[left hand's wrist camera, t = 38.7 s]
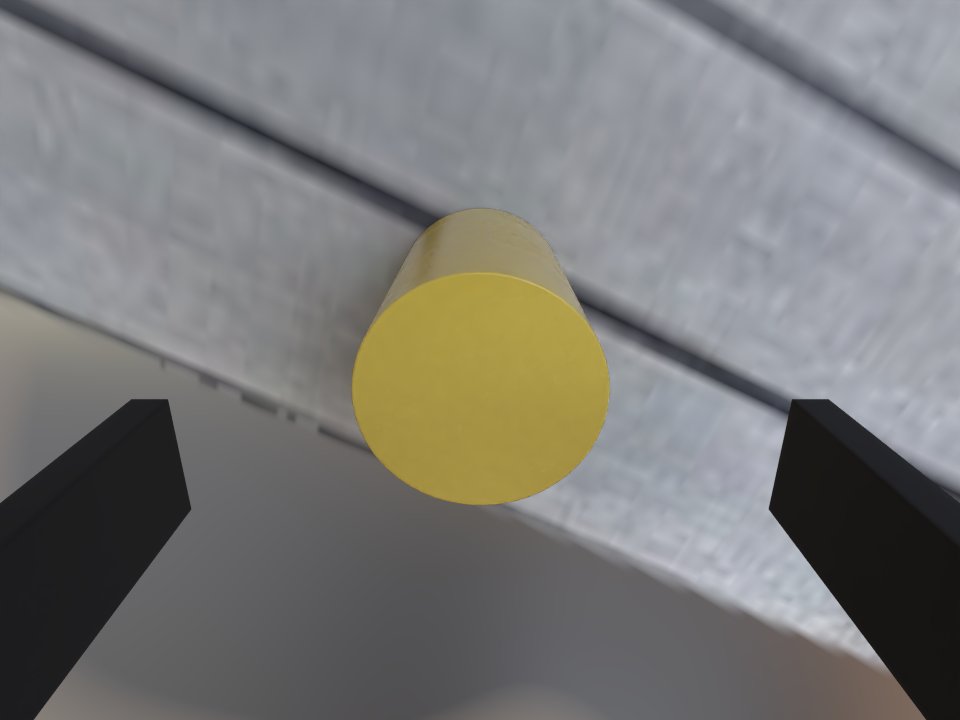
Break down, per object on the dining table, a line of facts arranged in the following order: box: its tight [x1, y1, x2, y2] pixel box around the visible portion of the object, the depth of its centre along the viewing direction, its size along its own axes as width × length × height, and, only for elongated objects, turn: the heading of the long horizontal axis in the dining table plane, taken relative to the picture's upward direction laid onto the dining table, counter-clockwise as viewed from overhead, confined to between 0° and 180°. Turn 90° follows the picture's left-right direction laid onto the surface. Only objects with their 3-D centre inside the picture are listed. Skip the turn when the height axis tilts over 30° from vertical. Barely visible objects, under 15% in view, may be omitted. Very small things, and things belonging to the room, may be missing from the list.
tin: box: [351, 208, 610, 505], centre depth 19 cm, size 6×6×10 cm
